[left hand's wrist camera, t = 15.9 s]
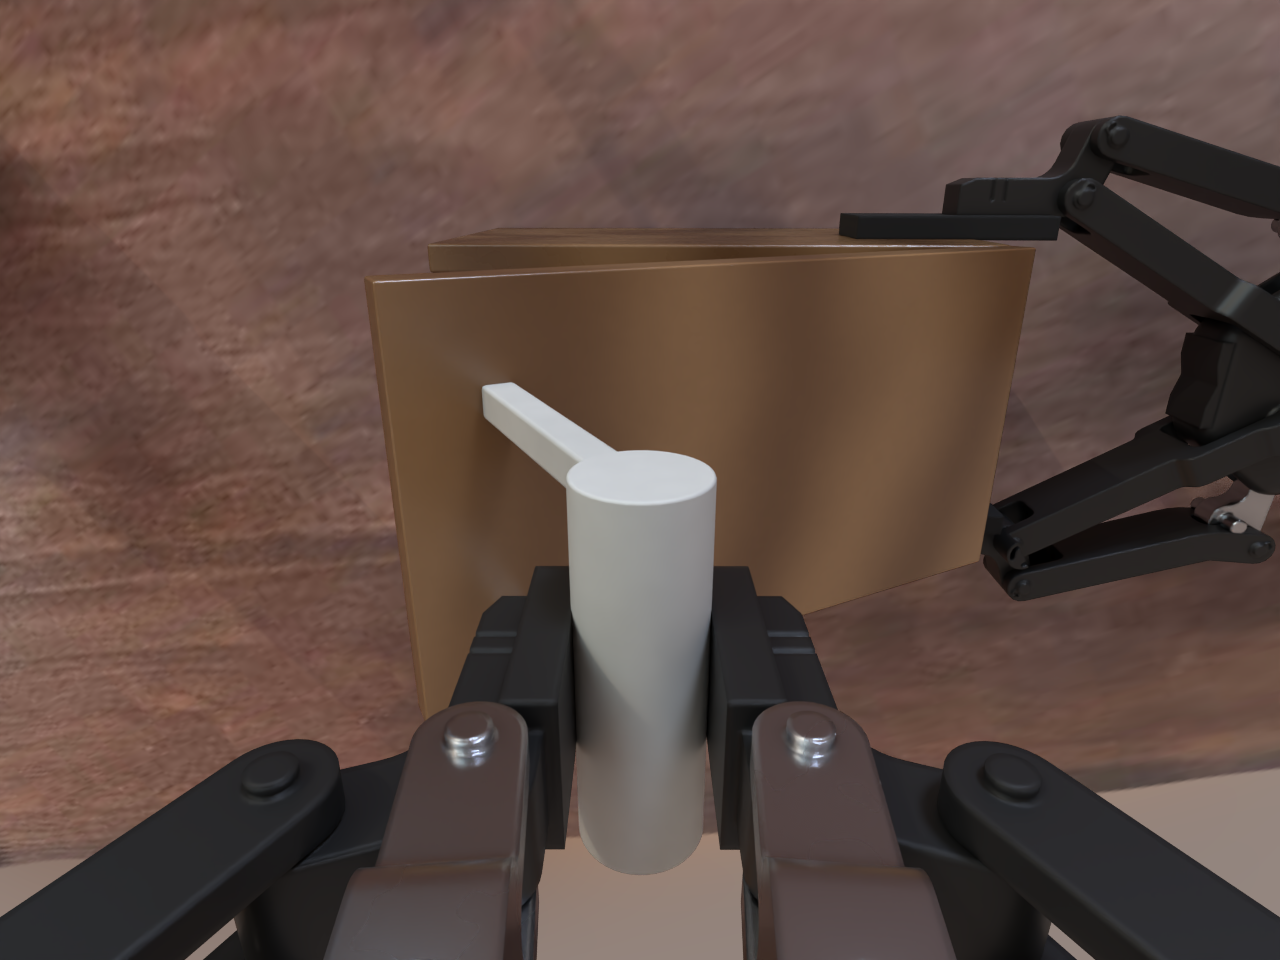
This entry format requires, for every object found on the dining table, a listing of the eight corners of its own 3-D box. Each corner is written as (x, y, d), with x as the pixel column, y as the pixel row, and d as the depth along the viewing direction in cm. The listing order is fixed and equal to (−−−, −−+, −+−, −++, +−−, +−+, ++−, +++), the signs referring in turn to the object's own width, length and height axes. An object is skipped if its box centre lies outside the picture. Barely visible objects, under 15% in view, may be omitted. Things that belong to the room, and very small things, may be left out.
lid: (418, 705, 18) (540, 1027, 11) (363, 275, 14) (494, 355, 7) (954, 549, 26) (1223, 681, 19) (1006, 245, 22) (1361, 271, 15)
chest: (510, 448, 36) (455, 541, 26) (496, 227, 32) (426, 243, 23) (882, 452, 35) (961, 548, 26) (909, 228, 31) (1013, 245, 22)
